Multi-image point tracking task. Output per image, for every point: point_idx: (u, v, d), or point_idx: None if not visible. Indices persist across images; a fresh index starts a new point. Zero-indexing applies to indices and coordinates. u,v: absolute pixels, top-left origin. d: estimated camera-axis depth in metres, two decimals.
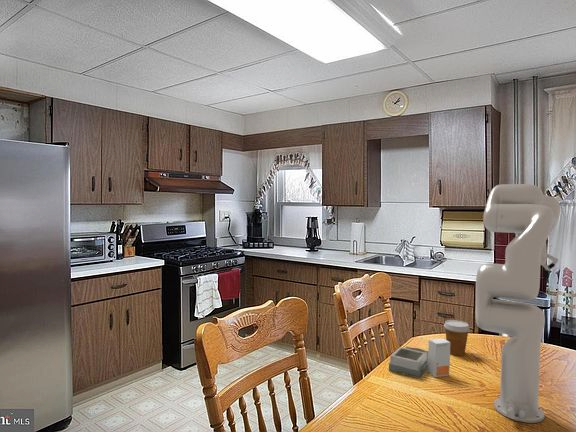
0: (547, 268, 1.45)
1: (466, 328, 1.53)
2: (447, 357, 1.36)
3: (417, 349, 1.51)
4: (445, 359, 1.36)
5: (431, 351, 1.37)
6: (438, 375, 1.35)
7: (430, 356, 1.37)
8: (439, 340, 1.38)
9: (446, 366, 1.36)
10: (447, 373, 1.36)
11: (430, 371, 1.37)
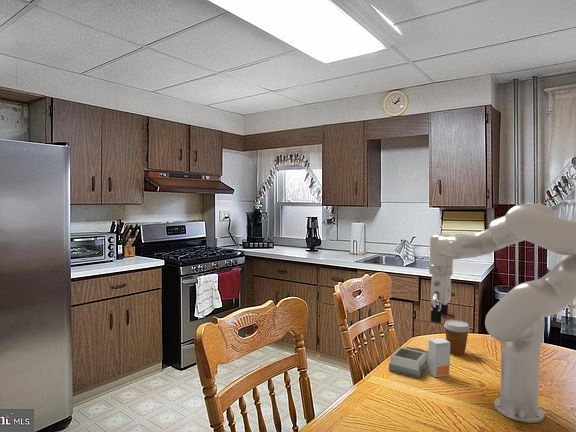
0: None
1: (466, 328, 1.53)
2: (447, 357, 1.36)
3: (417, 349, 1.51)
4: (445, 359, 1.36)
5: (431, 351, 1.37)
6: (438, 375, 1.35)
7: (430, 356, 1.37)
8: (439, 340, 1.38)
9: (446, 366, 1.36)
10: (447, 373, 1.36)
11: (430, 371, 1.37)
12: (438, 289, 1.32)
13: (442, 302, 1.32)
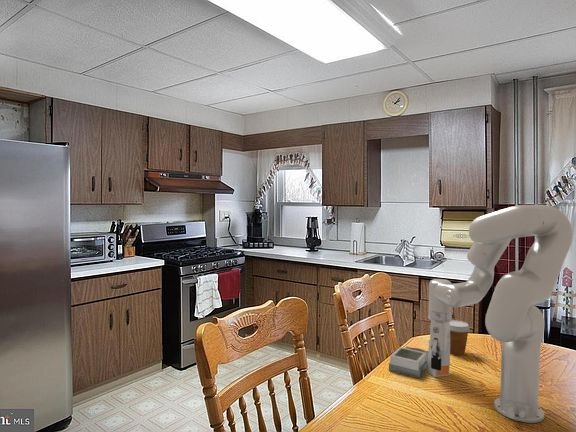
0: None
1: (466, 328, 1.53)
2: (447, 357, 1.36)
3: (417, 349, 1.51)
4: (445, 359, 1.36)
5: (431, 351, 1.37)
6: (438, 375, 1.35)
7: (430, 355, 1.37)
8: None
9: (446, 366, 1.36)
10: (447, 373, 1.36)
11: (430, 371, 1.37)
12: (437, 336, 1.33)
13: (441, 349, 1.32)
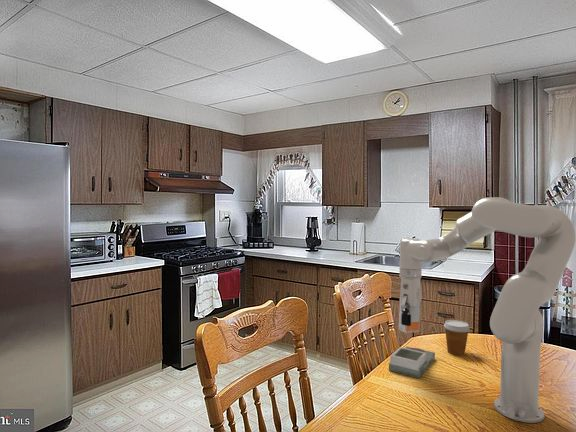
0: None
1: (466, 328, 1.53)
2: (417, 313, 1.39)
3: (417, 349, 1.51)
4: (415, 315, 1.39)
5: None
6: (408, 331, 1.39)
7: None
8: None
9: (416, 322, 1.39)
10: (417, 329, 1.40)
11: (401, 327, 1.41)
12: (407, 292, 1.36)
13: (411, 304, 1.35)
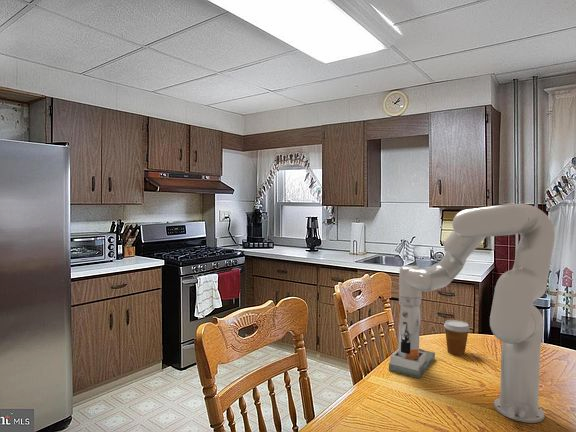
0: None
1: (466, 328, 1.53)
2: (416, 341, 1.40)
3: None
4: (415, 343, 1.40)
5: None
6: None
7: (400, 340, 1.41)
8: None
9: (415, 350, 1.40)
10: (416, 356, 1.40)
11: (400, 355, 1.41)
12: (406, 320, 1.36)
13: (410, 333, 1.36)
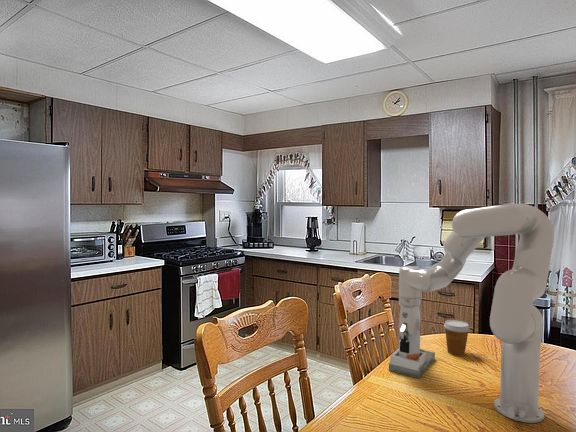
0: None
1: (466, 328, 1.53)
2: (417, 345, 1.40)
3: None
4: (415, 347, 1.40)
5: None
6: None
7: None
8: None
9: (416, 354, 1.40)
10: None
11: None
12: (406, 320, 1.37)
13: (410, 333, 1.36)
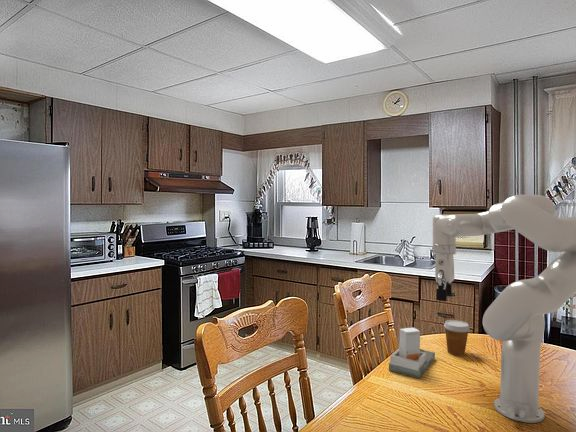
0: (450, 282, 1.43)
1: (466, 328, 1.53)
2: (417, 345, 1.40)
3: None
4: (415, 347, 1.40)
5: (402, 340, 1.41)
6: None
7: (401, 344, 1.41)
8: (409, 329, 1.41)
9: (416, 354, 1.40)
10: None
11: None
12: (443, 268, 1.34)
13: (447, 280, 1.34)
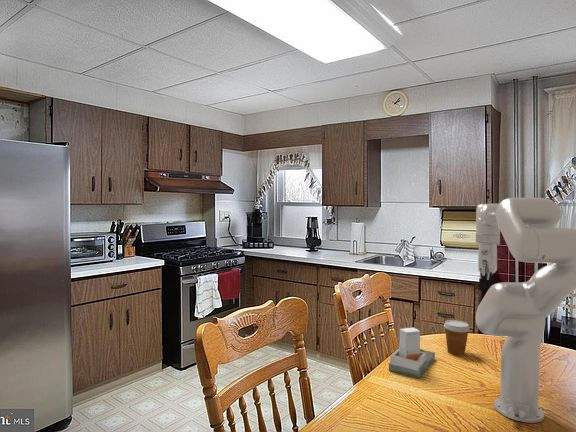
0: (492, 272, 1.41)
1: (466, 328, 1.53)
2: (417, 345, 1.40)
3: None
4: (415, 347, 1.40)
5: (402, 340, 1.41)
6: None
7: (401, 344, 1.41)
8: (409, 329, 1.41)
9: (416, 354, 1.40)
10: None
11: None
12: (486, 258, 1.33)
13: (491, 270, 1.32)
